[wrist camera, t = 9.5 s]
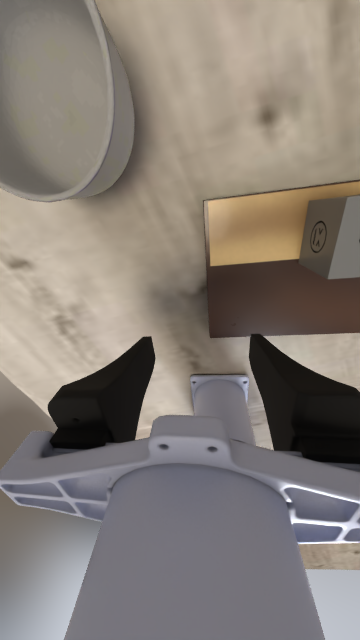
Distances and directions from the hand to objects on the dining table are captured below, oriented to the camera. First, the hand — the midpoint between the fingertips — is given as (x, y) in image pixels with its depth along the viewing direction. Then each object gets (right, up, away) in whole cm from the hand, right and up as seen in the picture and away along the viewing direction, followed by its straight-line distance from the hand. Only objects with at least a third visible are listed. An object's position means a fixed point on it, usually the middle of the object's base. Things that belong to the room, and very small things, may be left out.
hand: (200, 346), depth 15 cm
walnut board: (+12, +7, +5) cm, 15 cm away
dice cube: (+12, +10, +3) cm, 15 cm away
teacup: (-11, +18, +3) cm, 21 cm away
